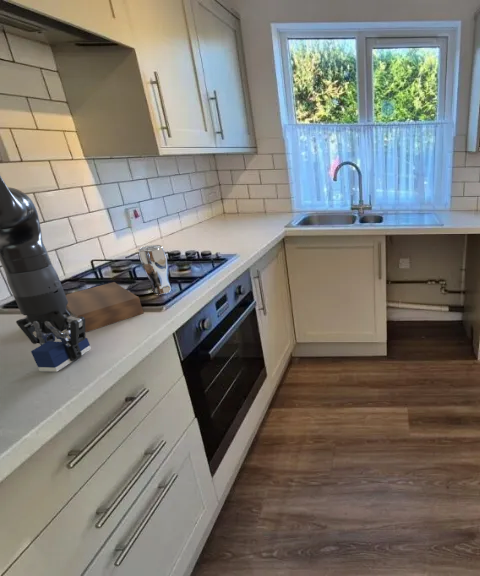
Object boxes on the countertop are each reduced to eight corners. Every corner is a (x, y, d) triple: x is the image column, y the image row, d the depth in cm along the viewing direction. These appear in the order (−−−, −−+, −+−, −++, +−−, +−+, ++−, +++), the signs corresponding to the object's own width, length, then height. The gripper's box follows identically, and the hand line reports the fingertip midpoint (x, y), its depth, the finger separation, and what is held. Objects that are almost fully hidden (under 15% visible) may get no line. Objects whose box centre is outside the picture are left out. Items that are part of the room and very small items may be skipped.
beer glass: (148, 292, 117) (135, 247, 112) (171, 286, 122) (160, 243, 116) (153, 298, 113) (139, 252, 107) (177, 292, 117) (165, 247, 111)
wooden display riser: (84, 332, 93) (77, 315, 91) (63, 312, 105) (57, 296, 103) (143, 313, 103) (138, 297, 101) (119, 296, 115) (114, 281, 113)
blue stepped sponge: (57, 371, 77) (48, 351, 75) (39, 371, 77) (30, 351, 75) (91, 348, 85) (84, 330, 83) (75, 348, 85) (68, 329, 83)
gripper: (-15, 295, 71) (20, 367, 78) (53, 296, 70) (82, 369, 77) (23, 281, 78) (52, 349, 85) (85, 281, 77) (109, 350, 84)
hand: (66, 358), depth 81 cm, fingers closed on blue stepped sponge, 4 cm apart
